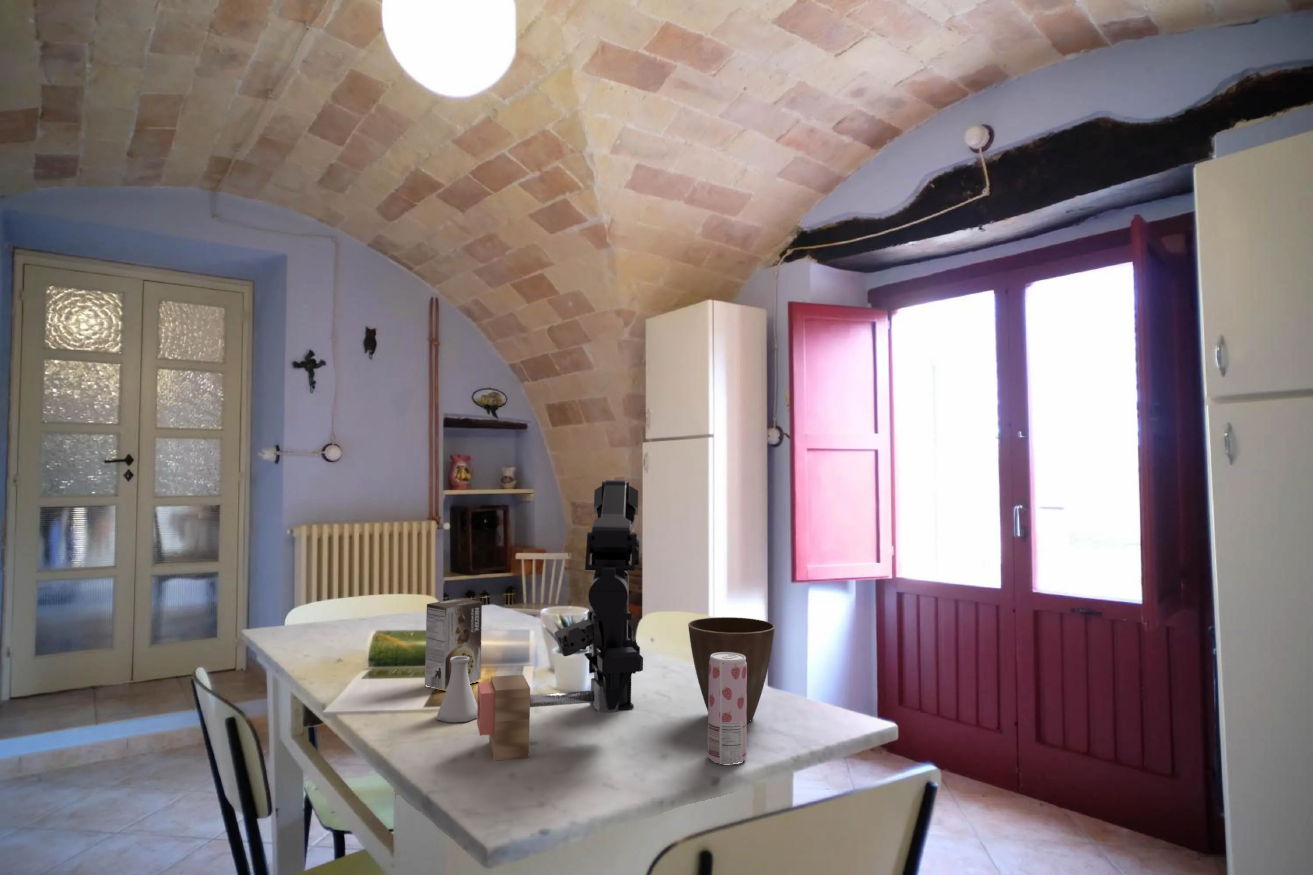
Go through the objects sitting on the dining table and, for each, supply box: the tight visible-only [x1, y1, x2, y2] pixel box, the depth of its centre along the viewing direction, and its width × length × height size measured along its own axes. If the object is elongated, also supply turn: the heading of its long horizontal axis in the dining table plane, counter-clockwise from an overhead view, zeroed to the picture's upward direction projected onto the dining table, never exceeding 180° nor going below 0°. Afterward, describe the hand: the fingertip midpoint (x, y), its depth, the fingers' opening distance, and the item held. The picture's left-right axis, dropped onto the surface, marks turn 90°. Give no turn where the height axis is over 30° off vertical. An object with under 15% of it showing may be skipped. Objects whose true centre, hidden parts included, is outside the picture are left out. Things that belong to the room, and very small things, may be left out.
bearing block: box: [488, 674, 531, 761], centre depth 117 cm, size 5×8×10 cm, turn 17°
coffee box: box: [424, 597, 483, 690], centre depth 153 cm, size 9×6×16 cm
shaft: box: [530, 679, 619, 714], centre depth 119 cm, size 20×4×4 cm, turn 107°
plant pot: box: [687, 616, 776, 723], centre depth 135 cm, size 15×15×16 cm
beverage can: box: [707, 652, 748, 764], centre depth 115 cm, size 6×6×15 cm
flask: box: [435, 656, 477, 723], centre depth 133 cm, size 7×7×10 cm
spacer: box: [476, 681, 495, 736], centre depth 116 cm, size 2×6×6 cm, turn 17°
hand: (608, 705), depth 122 cm, fingers closed on shaft, 4 cm apart
